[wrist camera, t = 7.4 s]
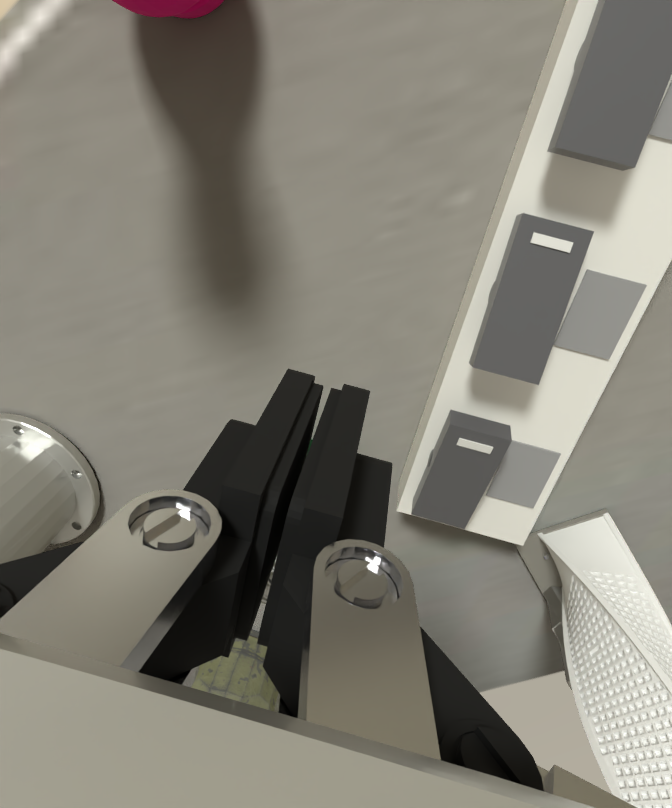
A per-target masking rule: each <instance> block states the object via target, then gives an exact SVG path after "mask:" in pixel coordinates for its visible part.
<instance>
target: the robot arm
mask: <svg viewBox="0 0 672 808" xmlns="http://www.w3.org/2000/svg"><path fill="white" fill-rule="evenodd" d="M314 380H315V376H313V375H310V374H306V373H302V372H298V371H295V370H291V369H288V370H287V371H286V373H285V375H284V377H283V379H282V380H281V382H280V384H279V386H278V387H277V389H276V391H275V393H274V394H273V396H272V398H271V400H270V402H269V403H268V405H267V407H266V409H265V410H264V412H263V414H262V416H261V417H260V419H259V421H258V423H257V424H256V426H255V425H252V424H248V423H244V422H241V421H237V420H233V419H232V420H230V421H229V422H228V423H227V425H226V426H225V428H224V429H223V431H222V432H221V434H220V435H219V437H218V438H217V440H216V441H215V443H214V444H213V446H212V447H211V449H210V450H209V452H208V453H207V455H206V456H205V458H204V459H203V461H202V462H201V464H200V465H199V467H198V468H197V470H196V471H195V473H194V474H193V476H192V477H191V479H190V480H189V482H188V483H187V485H186V486H185V488H184V489H183V490H173V489H164V490H156V491H151V492H148V493H145V494H142V495H139V496H137V497H136V498H134V499H133V500H131V501H130V502H128V503H127V504H125V505H124V506H123V507H122V508H121V509H120V510H119V511H118V512H117V513H116V514H115V515H113V516H112V517H111V518H110V519H109V520H108V521H107V522H106V523H105V524H104V525H102V526H101V527H100V528H99V529H98V530H97V531H96V532H95V533H94V534H93V535H92V536H90V537H89V538H88V539H87V540H86V541H84V542H80V543H77V544H73V545H69V546H65V547H62V548H58V549H54V550H51V551H47V552H43V551H44V550H45V549H46V548H47V547H48V545H49V544H58V543H64V542H67V541H70V540H73V539H75V538H76V537H78V536H79V535H81V534H82V533H83V532H84V531H85V530H86V529H87V528H88V527H89V526H90V524H91V523H92V522H93V520H94V518H95V517H96V515H97V512H98V508H99V505H100V493H99V488H98V483H97V480H96V478H95V475H94V473H93V470H92V468H91V467H90V465H89V464H88V462H87V460H86V459H85V457H84V456H83V455H82V454H81V453H80V452H79V450H78V449H77V448H76V447H75V446H74V445H73V444H72V443H71V442H70V441H69V440H67V439H66V438H65V437H64V436H63V435H61V434H60V433H58V432H57V431H55V430H54V429H52V428H51V427H49V426H47V425H45V424H43V423H41V422H39V421H37V420H34V419H31V418H28V417H25V416H22V415H15V414H8V413H1V414H0V808H637V807H635V806H633V805H631V804H629V803H627V802H625V801H623V800H622V799H620V798H618V797H616V796H614V795H612V794H610V793H608V792H606V791H604V790H602V789H600V788H598V787H597V786H595V785H593V784H591V783H589V782H587V781H585V780H583V779H581V778H579V777H577V776H575V775H573V774H572V773H570V772H568V771H566V770H564V769H562V768H560V767H558V766H556V765H554V766H553V767H552V768H551V770H550V771H547V770H545V769H543V768H541V767H539V766H537V765H536V763H535V761H534V758H533V757H532V755H531V754H530V752H529V751H528V750H527V748H526V747H525V745H524V744H523V743H522V741H521V740H520V739H519V737H518V736H517V735H516V734H515V733H514V732H513V731H512V729H511V728H510V727H509V726H508V725H507V724H506V723H505V722H504V720H503V719H502V718H501V717H500V716H499V715H498V714H497V713H496V711H495V710H494V709H493V708H492V707H491V706H490V705H489V704H488V702H487V701H486V700H485V699H484V698H483V697H482V696H481V695H480V693H479V692H478V691H477V690H476V689H475V688H474V687H473V685H472V684H471V683H470V682H469V681H468V680H467V679H466V678H465V676H464V675H463V674H462V673H461V672H460V671H459V670H458V669H457V667H456V666H455V665H454V664H453V663H452V662H451V661H450V660H449V658H448V657H447V656H446V655H445V654H444V653H443V652H442V650H441V649H440V648H439V647H438V646H437V645H436V644H435V643H434V641H433V640H432V639H431V638H430V637H429V636H428V635H427V634H426V632H425V631H424V630H423V629H422V628H421V627H420V623H419V617H418V610H417V604H416V598H415V591H414V585H413V582H412V579H411V576H410V573H409V571H408V570H407V568H406V567H405V565H404V564H403V563H402V561H401V560H400V559H398V558H397V557H396V556H395V555H394V554H393V553H391V552H390V551H389V550H387V549H385V548H384V541H385V532H386V522H387V512H388V503H389V493H390V484H391V474H392V463H390V462H387V461H383V460H379V459H376V458H372V457H368V456H365V455H361V454H358V453H357V450H358V445H359V441H360V436H361V431H362V427H363V422H364V417H365V413H366V408H367V403H368V399H369V394H370V391H369V390H365V389H361V388H358V387H354V386H350V385H346V384H344V385H343V388H342V391H341V390H337V389H334V388H331V391H330V393H329V396H328V399H327V402H326V404H325V407H324V410H323V413H322V415H321V418H320V421H319V424H318V427H317V429H316V432H315V435H314V438H313V440H312V443H311V446H310V449H309V445H310V441H311V437H312V432H313V428H314V424H315V420H316V416H317V412H318V407H319V403H320V399H321V395H322V391H323V385H319V384H315V383H314ZM308 449H309V451H308ZM307 453H308V454H307ZM42 552H43V553H42ZM277 554H278V555H277ZM276 557H277V559H276ZM275 560H276V563H275ZM274 563H275V568H274V572H273V576H272V581H271V585H270V589H269V593H268V598H267V602H266V606H265V611H264V615H263V619H262V623H261V628H260V632H259V636H258V641H257V644H259V645H263V646H266V647H267V651H266V655H265V659H264V663H263V668H264V670H265V671H266V673H267V674H268V676H269V678H270V679H271V681H272V683H273V684H274V686H275V688H276V689H277V691H278V697H277V700H276V704H275V711H270V710H267V709H264V708H260V707H257V706H253V705H250V704H246V703H243V702H239V701H236V700H232V699H229V698H225V697H222V696H219V695H215V694H212V693H208V692H205V691H201V690H198V689H194V688H191V687H192V685H193V683H194V681H195V679H196V676H197V674H198V671H199V666H200V665H202V664H204V663H206V662H209V661H211V660H213V659H215V658H218V657H220V656H224V657H227V658H229V655H230V652H231V649H232V647H233V644H234V641H235V639H236V638H238V639H242V640H245V641H247V640H248V638H249V635H250V632H251V629H252V626H253V623H254V621H255V618H256V615H257V612H258V609H259V606H260V603H261V600H262V598H263V595H264V592H265V589H266V586H267V583H268V580H269V577H270V575H271V572H272V569H273V566H274Z"/></svg>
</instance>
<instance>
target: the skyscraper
mask: <svg viewBox="0 0 672 808" xmlns="http://www.w3.org/2000/svg"><path fill="white" fill-rule="evenodd" d="M515 546H516V548H517V549H518V551H519V553H520V555H521V557H522V558H523V560H524V562H525V564H526V565H527V567H528V569H529V571H530V573H531V574H532V576H533V578H534V580H535V581H536V583H537V585H538V587H539V589H540V590H541V592H542V594H543V596H544V598H545V599H546V601H547V603H548V608H549V614H550V621H551V628H552V630H553V632H554V634H555V635H556V637H557V638H558V641H559V645H560V650H561V655H562V660H563V665H564V670H565V675H566V680H567V683H568V685H569V687H570V688H571V690H572V691H573V695H574V698H575V702H576V706H577V709H578V712H579V715H580V718H581V721H582V725H583V727H584V730H585V733H586V735H587V738H588V741H589V743H590V746H591V748H592V751H593V753H594V756H595V758H596V760H597V762H598V765H599V767H600V769H601V772H602V774H603V775H604V778H605V780H606V782H607V784H608V786H609V788H610V790H611V792H612V795H614V796H616V797H618V798H620V799H622V800H623V801H625V802H627V803H629V804H631V805H633V806H635V807H637V808H672V625H671V623H670V621H669V619H668V617H667V615H666V614H665V612H664V610H663V608H662V606H661V604H660V602H659V600H658V598H657V597H656V595H655V593H654V591H653V589H652V588H651V586H650V584H649V582H648V580H647V579H646V577H645V575H644V573H643V571H642V570H641V568H640V566H639V564H638V563H637V561H636V559H635V557H634V556H633V554H632V552H631V551H630V549H629V547H628V545H627V544H626V542H625V540H624V538H623V537H622V535H621V533H620V531H619V530H618V528H617V526H616V525H615V523H614V521H613V519H612V518H611V516H610V514H609V513H608V512H607V510H606V509H603V510H600V511H597V512H594V513H591V514H588V515H585V516H582V517H579V518H576V519H573V520H570V521H566V522H563V523H560V524H557V525H554V526H551V527H548V528H545V529H542V530H539V531H536V532H533V533H530V534H529V535H528V537H527V539H526V541H525V543H524V545H523V546H522V545H518V544H515Z"/></svg>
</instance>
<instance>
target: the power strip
mask: <svg viewBox="0 0 672 808" xmlns="http://www.w3.org/2000/svg"><path fill="white" fill-rule="evenodd" d="M597 3H598V0H566V3H565V5H564V8H563V11H562V14H561V17H560V20H559V23H558V26H557V28H556V31H555V34H554V37H553V40H552V43H551V46H550V49H549V51H548V54H547V57H546V60H545V63H544V66H543V69H542V72H541V75H540V77H539V80H538V83H537V86H536V89H535V92H534V95H533V98H532V100H531V103H530V106H529V109H528V112H527V115H526V118H525V121H524V123H523V126H522V129H521V132H520V135H519V138H518V141H517V144H516V147H515V149H514V152H513V155H512V158H511V161H510V164H509V167H508V170H507V172H506V175H505V178H504V181H503V184H502V187H501V190H500V193H499V195H498V198H497V201H496V204H495V207H494V210H493V213H492V216H491V219H490V221H489V224H488V227H487V230H486V233H485V236H484V239H483V242H482V244H481V247H480V250H479V253H478V256H477V259H476V262H475V265H474V267H473V270H472V273H471V276H470V279H469V282H468V285H467V288H466V290H465V293H464V296H463V299H462V302H461V305H460V308H459V311H458V314H457V316H456V319H455V322H454V325H453V328H452V331H451V334H450V337H449V339H448V342H447V345H446V348H445V351H444V354H443V357H442V360H441V362H440V365H439V368H438V371H437V374H436V377H435V380H434V383H433V386H432V388H431V391H430V394H429V397H428V400H427V403H426V406H425V409H424V411H423V414H422V417H421V420H420V423H419V426H418V429H417V432H416V434H415V437H414V440H413V443H412V446H411V449H410V452H409V455H408V458H407V460H406V463H405V466H404V469H403V472H402V475H401V478H400V481H399V488H398V501H397V511H399V512H402V513H406V514H409V515H411V511H412V501H413V497H414V495H415V492H416V490H417V488H418V485H419V483H420V481H421V478H422V476H423V473H424V471H425V469H426V466H427V464H428V459H429V455H430V453H431V450H432V449H434V447H435V445H436V443H437V440H438V438H439V435H440V433H441V431H442V428H443V426H444V424H445V421H446V419H447V417H448V414H449V412H450V409H451V410H454V411H458V412H462V413H465V414H469V415H473V416H476V417H480V418H484V419H488V420H491V421H495V422H499V423H502V424H506V425H510V428H511V437H512V442H511V444H510V446H509V447H508V449H507V451H506V453H505V455H504V457H503V459H502V460H501V462H500V464H499V466H498V468H497V470H496V472H495V473H494V475H493V477H492V479H491V481H490V483H489V485H488V486H487V488H486V490H485V492H484V494H483V496H482V498H481V499H480V501H479V503H478V505H477V507H476V509H475V511H474V512H473V514H472V516H471V518H470V520H469V522H468V524H467V526H466V527H465V529H464V530H467V531H471V532H475V533H478V534H482V535H485V536H489V537H493V538H496V539H500V540H503V541H507V542H511V543H514V544H518V545H522V546H523V545H524V543H525V541H526V539H527V537H528V535H529V533H530V531H531V529H532V527H533V526H534V524H535V522H536V520H537V518H538V516H539V514H540V512H541V510H542V508H543V506H544V504H545V502H546V500H547V499H548V497H549V495H550V493H551V491H552V489H553V487H554V485H555V483H556V481H557V479H558V477H559V475H560V474H561V472H562V470H563V468H564V466H565V464H566V462H567V460H568V458H569V456H570V454H571V452H572V450H573V448H574V447H575V445H576V443H577V441H578V439H579V437H580V435H581V433H582V431H583V429H584V427H585V425H586V423H587V421H588V420H589V418H590V416H591V414H592V412H593V410H594V408H595V406H596V404H597V402H598V400H599V398H600V396H601V394H602V393H603V391H604V389H605V387H606V385H607V383H608V381H609V379H610V377H611V375H612V373H613V371H614V369H615V368H616V366H617V364H618V362H619V360H620V358H621V356H622V354H623V352H624V350H625V348H626V346H627V344H628V342H629V341H630V339H631V337H632V335H633V333H634V331H635V329H636V327H637V325H638V323H639V321H640V319H641V317H642V315H643V314H644V312H645V310H646V308H647V306H648V304H649V302H650V300H651V298H652V296H653V294H654V292H655V290H656V289H657V287H658V285H659V283H660V281H661V279H662V277H663V275H664V273H665V271H666V269H667V267H668V265H669V263H670V262H671V260H672V75H671V77H670V80H669V82H668V85H667V87H666V90H665V92H664V95H663V98H662V100H661V103H660V105H659V108H658V110H657V113H656V116H655V118H654V121H653V123H652V126H651V128H650V131H649V133H648V136H647V139H646V141H645V144H644V146H643V149H642V151H641V154H640V156H639V159H638V162H637V164H636V167H635V168H632V169H628V170H624V171H621V170H617V169H614V168H610V167H606V166H602V165H598V164H594V163H590V162H586V161H582V160H578V159H575V158H571V157H567V156H563V155H559V154H555V153H551V152H547V150H548V147H549V144H550V141H551V138H552V135H553V132H554V129H555V126H556V123H557V120H558V117H559V114H560V112H561V109H562V106H563V103H564V100H565V97H566V94H567V91H568V88H569V85H570V82H571V79H572V76H573V73H574V64H575V61H576V58H577V55H578V52H579V50H580V48H581V46H582V44H583V42H584V41H585V38H586V35H587V32H588V29H589V26H590V23H591V20H592V17H593V14H594V12H595V9H596V6H597ZM521 213H525V214H529V215H533V216H537V217H541V218H544V219H548V220H552V221H556V222H560V223H564V224H568V225H571V226H575V227H579V228H583V229H587V230H591V231H594V233H593V236H592V239H591V242H590V244H589V247H588V250H587V253H586V255H585V258H584V261H583V264H582V267H581V269H580V272H579V275H578V278H577V280H576V283H575V286H574V289H573V291H572V294H571V297H570V300H569V303H568V305H567V308H566V311H565V314H564V316H563V319H562V322H561V325H560V328H559V330H558V333H557V336H556V339H555V341H554V344H553V347H552V350H551V352H550V355H549V358H548V361H547V364H546V366H545V369H544V372H543V375H542V377H541V380H540V383H539V385H536V384H533V383H529V382H525V381H522V380H518V379H514V378H510V377H507V376H503V375H499V374H495V373H492V372H488V371H484V370H481V369H477V368H473V367H472V366H471V365H470V364H469V361H470V358H471V355H472V351H473V348H474V345H475V342H476V339H477V336H478V333H479V330H480V327H481V324H482V320H483V317H484V314H485V311H486V308H487V305H488V298H489V293H490V290H491V288H492V285H493V283H494V282H495V280H496V277H497V274H498V271H499V268H500V265H501V262H502V259H503V256H504V252H505V249H506V246H507V243H508V240H509V237H510V234H511V231H512V228H513V225H514V222H515V218H516V215H519V214H521ZM413 516H415V515H413ZM417 517H418V516H417ZM420 518H422V517H420ZM424 519H426V518H424ZM428 520H429V519H428ZM431 521H433V520H431ZM435 522H436V521H435ZM438 523H440V522H438ZM442 524H444V523H442ZM446 525H447V524H446ZM449 526H451V525H449ZM453 527H455V526H453ZM456 528H458V527H456ZM460 529H462V528H460Z"/></svg>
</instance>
